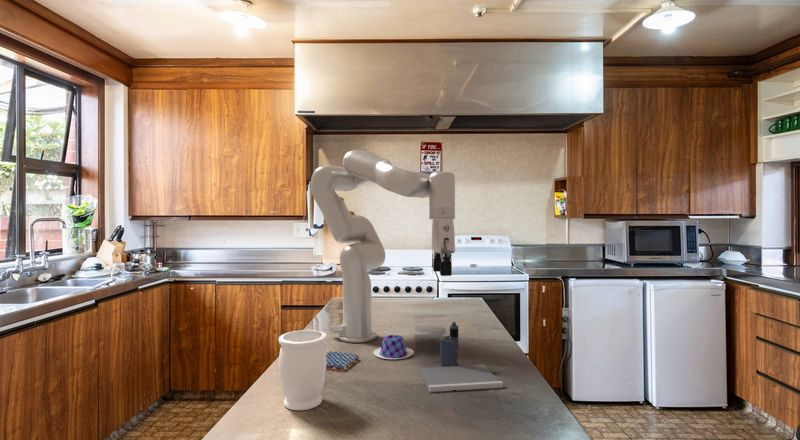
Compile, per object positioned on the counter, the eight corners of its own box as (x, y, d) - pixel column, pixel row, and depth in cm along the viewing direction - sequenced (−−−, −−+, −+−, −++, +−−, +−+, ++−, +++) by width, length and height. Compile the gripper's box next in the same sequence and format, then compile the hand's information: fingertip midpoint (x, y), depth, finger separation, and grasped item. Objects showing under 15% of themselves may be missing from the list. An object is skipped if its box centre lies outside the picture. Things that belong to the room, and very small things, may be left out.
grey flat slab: (429, 392, 103) (429, 387, 103) (418, 370, 117) (418, 365, 117) (503, 387, 105) (503, 382, 105) (483, 366, 119) (484, 362, 119)
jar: (283, 393, 102) (283, 329, 102) (328, 391, 103) (328, 328, 103) (274, 414, 92) (274, 343, 91) (324, 412, 92) (324, 342, 92)
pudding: (374, 348, 136) (374, 331, 136) (413, 348, 136) (413, 331, 136) (372, 361, 124) (372, 343, 124) (414, 361, 124) (414, 343, 124)
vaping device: (456, 368, 118) (456, 324, 118) (438, 365, 121) (438, 321, 120) (460, 365, 120) (460, 322, 120) (442, 362, 123) (442, 319, 123)
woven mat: (309, 369, 119) (309, 362, 119) (328, 357, 129) (328, 350, 129) (343, 374, 115) (343, 367, 115) (361, 361, 125) (360, 354, 125)
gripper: (462, 214, 120) (462, 277, 121) (447, 213, 137) (447, 269, 138) (436, 214, 119) (436, 278, 120) (423, 214, 136) (423, 269, 137)
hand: (442, 273), depth 129 cm, fingers open, 8 cm apart
